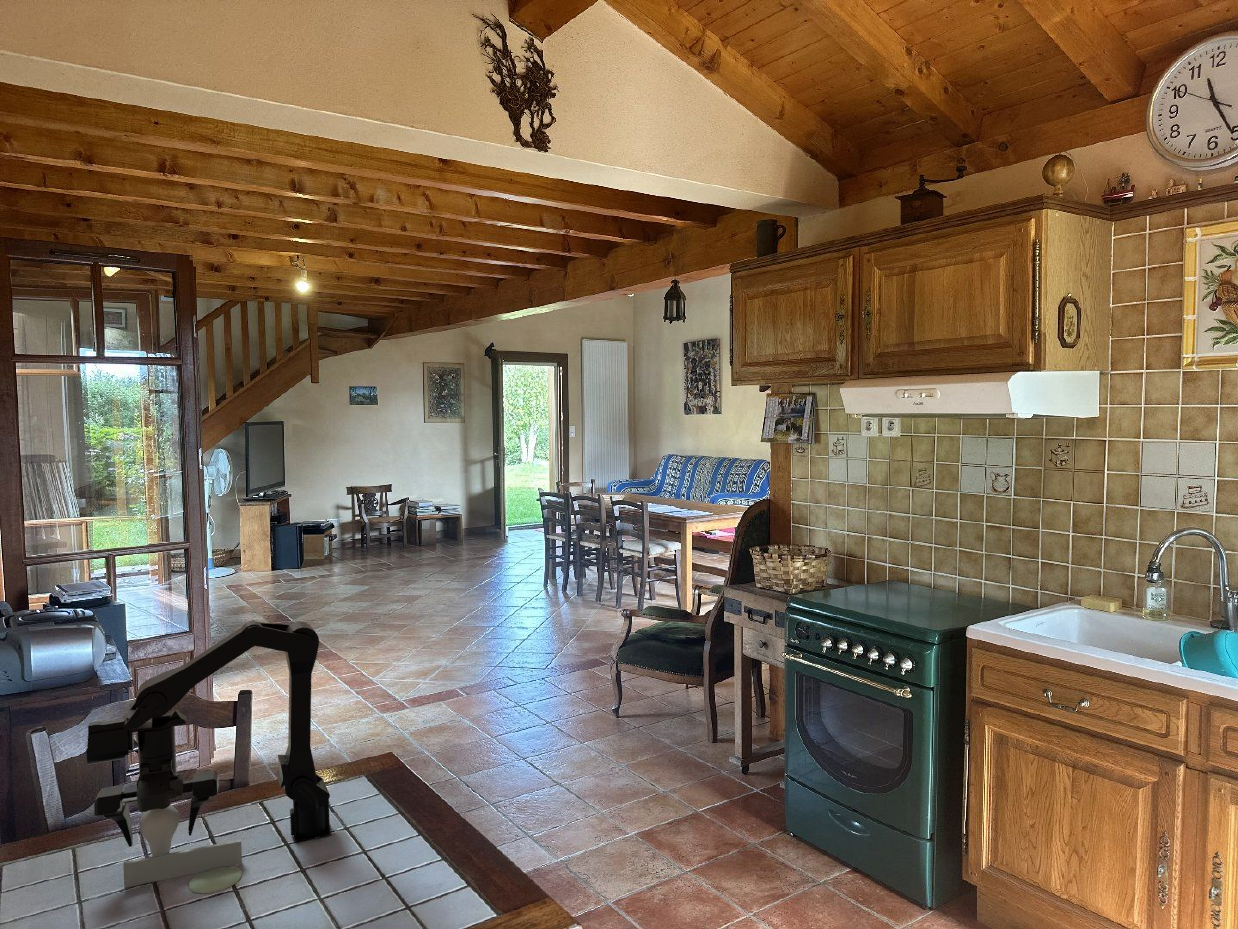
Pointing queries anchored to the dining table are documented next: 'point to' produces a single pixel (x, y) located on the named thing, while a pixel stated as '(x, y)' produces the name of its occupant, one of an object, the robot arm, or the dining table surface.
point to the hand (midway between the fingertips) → (160, 840)
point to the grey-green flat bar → (182, 863)
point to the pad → (215, 880)
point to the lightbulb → (159, 829)
